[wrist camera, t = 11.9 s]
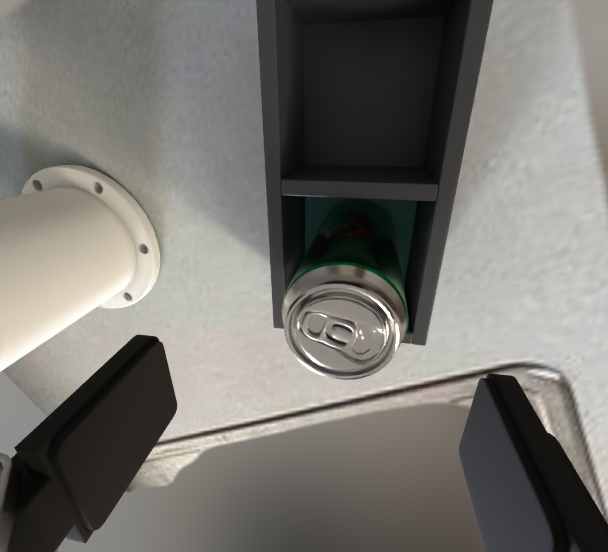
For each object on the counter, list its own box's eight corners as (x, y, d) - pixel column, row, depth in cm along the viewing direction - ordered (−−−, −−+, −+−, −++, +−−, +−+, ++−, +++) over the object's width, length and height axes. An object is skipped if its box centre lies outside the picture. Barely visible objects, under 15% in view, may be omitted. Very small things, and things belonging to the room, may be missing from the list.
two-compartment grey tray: (296, 281, 26) (273, 328, 20) (292, 10, 19) (254, -39, 13) (414, 292, 25) (425, 346, 19) (462, -1, 17) (506, -63, 11)
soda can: (376, 277, 24) (375, 405, 13) (312, 252, 24) (259, 358, 13) (407, 214, 21) (437, 307, 11) (336, 187, 22) (296, 252, 11)
